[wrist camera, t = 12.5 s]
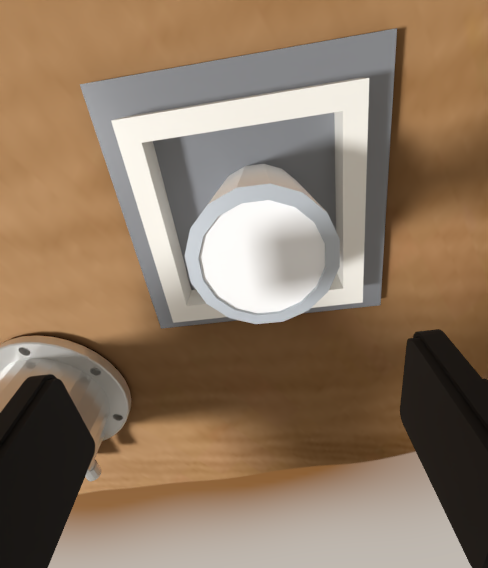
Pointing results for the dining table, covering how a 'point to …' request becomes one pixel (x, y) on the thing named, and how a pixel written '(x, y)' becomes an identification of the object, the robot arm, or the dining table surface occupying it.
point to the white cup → (262, 247)
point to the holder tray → (252, 154)
